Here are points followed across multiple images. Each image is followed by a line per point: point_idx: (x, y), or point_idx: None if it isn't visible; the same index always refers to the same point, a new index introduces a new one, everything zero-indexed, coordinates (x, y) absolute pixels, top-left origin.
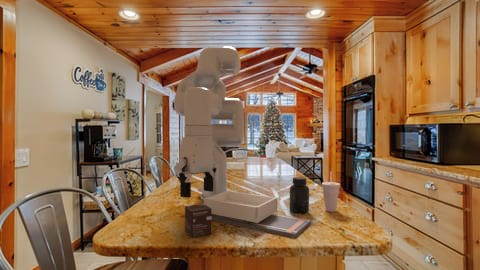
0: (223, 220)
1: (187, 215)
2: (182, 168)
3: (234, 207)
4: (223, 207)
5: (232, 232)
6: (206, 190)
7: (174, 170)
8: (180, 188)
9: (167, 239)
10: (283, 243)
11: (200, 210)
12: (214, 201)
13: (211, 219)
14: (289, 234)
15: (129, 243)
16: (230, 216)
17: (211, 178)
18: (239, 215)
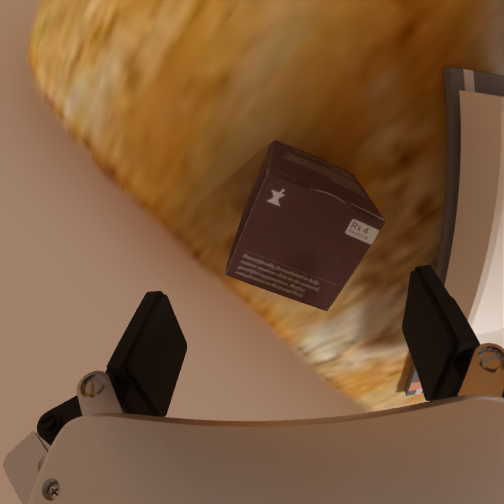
0: (449, 201)
1: (247, 207)
2: (102, 456)
3: (467, 287)
4: (475, 227)
5: (374, 283)
6: (409, 293)
7: (17, 445)
8: (128, 327)
9: (174, 159)
10: (365, 389)
11: (271, 291)
12: (494, 181)
13: (448, 135)
14: (408, 385)
15: (75, 104)
16: (454, 245)
17: (433, 398)
18: (450, 289)
